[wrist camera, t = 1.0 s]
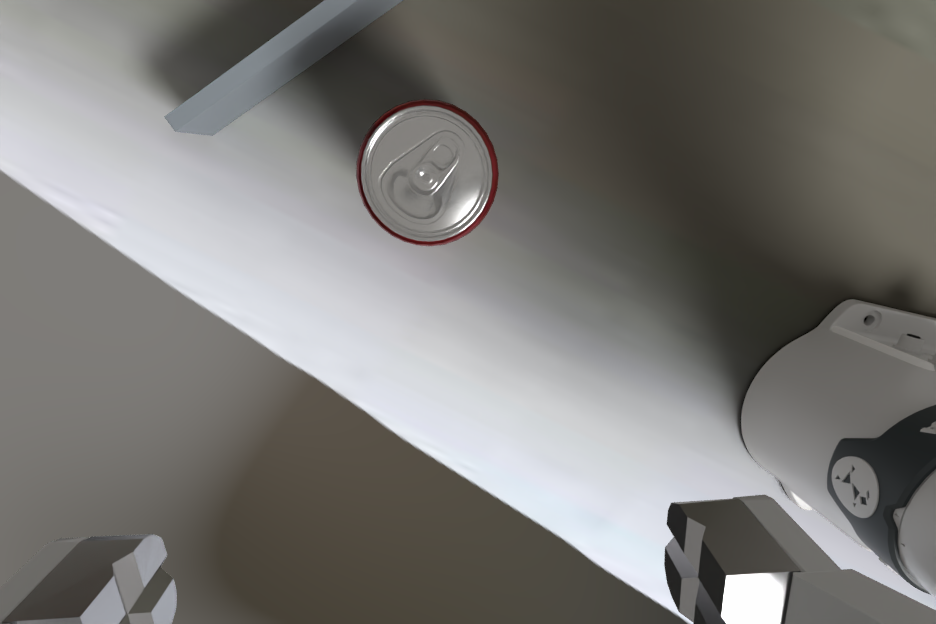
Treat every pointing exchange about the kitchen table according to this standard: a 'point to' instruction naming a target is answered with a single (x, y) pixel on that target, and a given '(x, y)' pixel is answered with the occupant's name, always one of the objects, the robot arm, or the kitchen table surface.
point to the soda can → (427, 172)
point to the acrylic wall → (275, 64)
